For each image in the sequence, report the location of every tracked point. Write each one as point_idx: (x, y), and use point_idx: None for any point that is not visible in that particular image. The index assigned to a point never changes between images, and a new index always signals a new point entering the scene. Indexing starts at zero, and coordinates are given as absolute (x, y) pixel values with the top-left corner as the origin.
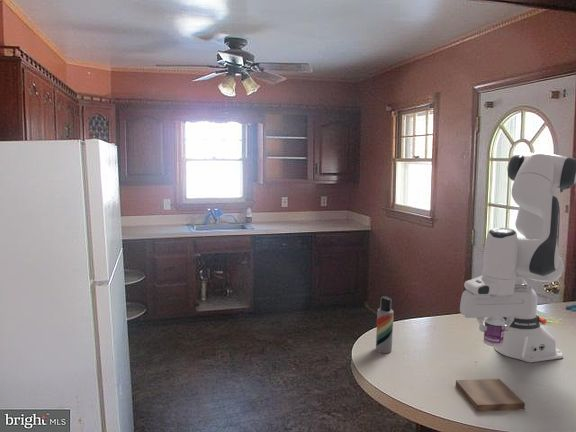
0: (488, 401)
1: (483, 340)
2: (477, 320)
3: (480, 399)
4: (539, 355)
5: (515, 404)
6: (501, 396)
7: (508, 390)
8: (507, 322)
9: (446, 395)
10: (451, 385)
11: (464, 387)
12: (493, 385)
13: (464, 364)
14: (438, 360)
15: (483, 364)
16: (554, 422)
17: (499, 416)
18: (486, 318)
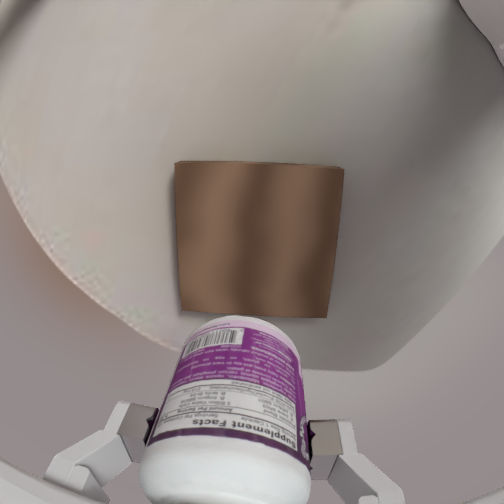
0: (221, 299)
1: (186, 340)
2: (73, 447)
3: (202, 287)
4: None
5: (297, 315)
6: (279, 279)
7: (326, 249)
8: (343, 484)
9: (132, 213)
10: (170, 153)
11: (182, 214)
12: (294, 212)
13: (292, 13)
14: None
15: (365, 26)
16: (355, 356)
17: None
18: (144, 484)
